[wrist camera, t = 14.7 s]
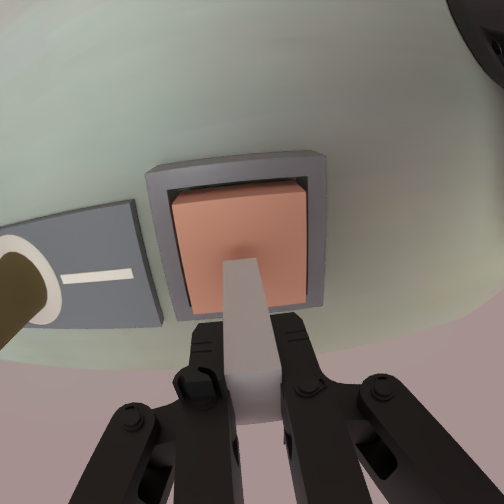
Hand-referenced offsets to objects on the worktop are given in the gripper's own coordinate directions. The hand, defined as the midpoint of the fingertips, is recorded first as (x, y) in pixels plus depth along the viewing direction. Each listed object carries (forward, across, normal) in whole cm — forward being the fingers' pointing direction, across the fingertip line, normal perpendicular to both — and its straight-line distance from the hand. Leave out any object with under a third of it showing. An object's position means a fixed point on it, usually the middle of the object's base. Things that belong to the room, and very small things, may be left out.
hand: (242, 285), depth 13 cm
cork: (+6, +19, +2) cm, 20 cm away
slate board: (+7, +16, +2) cm, 17 cm away
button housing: (+7, 0, 0) cm, 7 cm away
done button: (+6, 0, 0) cm, 6 cm away
